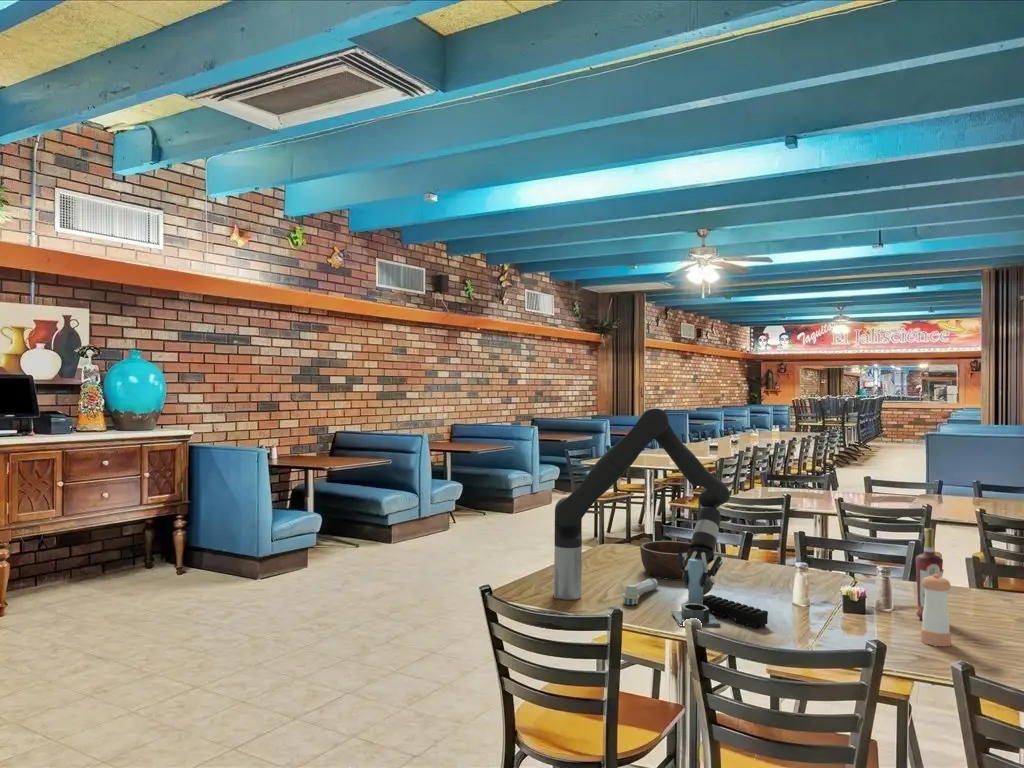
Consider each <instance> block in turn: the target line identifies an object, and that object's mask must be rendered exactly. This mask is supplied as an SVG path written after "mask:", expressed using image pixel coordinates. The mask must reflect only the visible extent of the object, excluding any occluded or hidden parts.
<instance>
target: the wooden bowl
mask: <svg viewBox="0 0 1024 768" xmlns="http://www.w3.org/2000/svg"><path fill="white" fill-rule="evenodd" d="M690 545H691V542H686V541H677V540H655V541H649V542H644V543H642V544H641V545H640V547H639V551H640V556H641V557H640V558H641V562H642V566H643V567H644V570H645V571H646V573H647V574H648V575H650V576H652V577H655V578H658V577H660V578H659V579H664V578H667V579H666V580H673V579H682V576H683V573H684V572H681V569H680V567H679V556H678V553H679V552H682V553H687V552H688V550H689V549H690ZM688 560H689V558H688V557H686V560H685V561H684V566H685V567H686V565H687V564H688Z"/></svg>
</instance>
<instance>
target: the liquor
mask: <svg viewBox="0 0 1024 768" xmlns="http://www.w3.org/2000/svg"><path fill="white" fill-rule="evenodd" d="M923 529H924V531H923V535H924V546H923V552H922V553H920V554H918V555H916V556H915V573H916V574H915V576H916V588H917V589H916V592H917V593H916V594H917V595H916V596H917V611H916V616H917V617H919V619H920V620H922V615H923V610H924V604H925V587H923V585H922V580H923V579H924V577H928V576H933V574H938V575H939V577H943V567H944V566H943V565H944V564H943V563H944V562H943V561H944V560H943V559H942V557H940V556H938V555H937V554H936V553H935V552H936V551H935V543H934V541H935V540H934V538H935V529H934V528H931V527H927V528H926V527H925V528H923Z"/></svg>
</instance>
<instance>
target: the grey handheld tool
mask: <svg viewBox="0 0 1024 768" xmlns="http://www.w3.org/2000/svg"><path fill="white" fill-rule="evenodd" d="M658 588H659V582H658V580H657V578H649V577H648V578H646V579H645V580H643V581H641V582H638V583H636V584H627V585H626V586H625V590H624V593H623V594H622V595H621V596H622V598H623V601H622V603H623V604H625V605H630V606H633V605H635V604H637V603H638V604H639V599H640V594H644V593H648V592H653V591H655V590H656V589H658ZM652 590H653V591H652ZM638 604H637V605H638Z"/></svg>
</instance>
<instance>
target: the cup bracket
mask: <svg viewBox="0 0 1024 768" xmlns="http://www.w3.org/2000/svg"><path fill="white" fill-rule="evenodd" d="M671 613H672V615H673V616H674V617H675V619H676V620H677V621H678V623H679V624H680V625H682V626H683V622H684V621H685V620H686V619H690V618H697V619H699V620H700V621H701V623H702V626H703V627H702V628H704V627H705V628H707V627H708V628H721V622H720V621H719V620H718V619H717V617H715V616H713V615H712V614H711V613H710V611H709V608H708V607H707V606H705V605H703V604H700V603H686V604H682V605H681V611H679V610H671V611H670V614H671ZM672 615H671V616H672ZM673 616H672V617H673ZM674 617H673V618H674ZM675 619H674V620H675ZM676 620H675V621H676ZM678 623H677V624H678ZM679 624H678V625H679Z"/></svg>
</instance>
